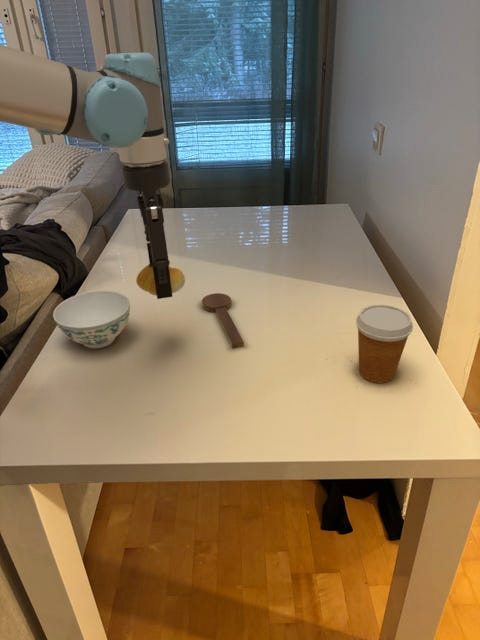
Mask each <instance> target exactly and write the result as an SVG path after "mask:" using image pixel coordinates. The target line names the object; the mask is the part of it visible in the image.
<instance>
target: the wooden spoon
mask: <svg viewBox="0 0 480 640" xmlns="http://www.w3.org/2000/svg"><path fill="white" fill-rule="evenodd" d="M201 307H202V309H203V310H204V311H206V312H208V313H215V315H216V316H215V317H216V318H217V320H218V323H219V324H220V326H221V328H222V330H223V332H224V335H225V336H226V339H227V340H228V342H229V345H230V347H231V348H232V349H236V348H242V347H244V340H243V338H242V336H241V334H240V331H239V330H238V329H237V326H236V324H235V323H234V321H233V319H232V317H231V315H230V314H229V311H228V310H229V309H231V307H232V298H231V297H230V295H228V294H225V293H221V292H220V293H219V292H218V293H217V292H216V293H209V294H207V295H205V296H204V297H203V298H202V299H201Z"/></svg>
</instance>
